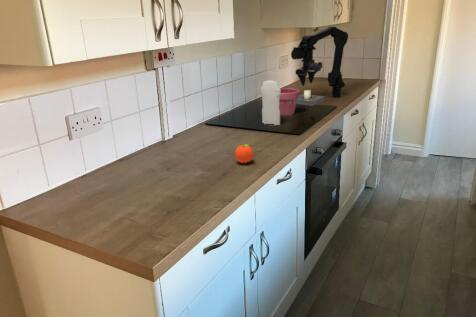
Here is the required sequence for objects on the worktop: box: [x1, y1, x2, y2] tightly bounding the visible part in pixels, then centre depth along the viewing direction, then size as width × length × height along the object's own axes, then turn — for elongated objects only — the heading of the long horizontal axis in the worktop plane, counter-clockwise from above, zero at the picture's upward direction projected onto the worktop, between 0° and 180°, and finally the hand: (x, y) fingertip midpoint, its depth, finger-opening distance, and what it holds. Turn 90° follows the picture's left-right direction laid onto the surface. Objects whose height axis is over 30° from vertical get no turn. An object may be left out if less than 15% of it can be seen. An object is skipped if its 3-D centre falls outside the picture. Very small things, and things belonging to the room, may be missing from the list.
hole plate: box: [296, 93, 326, 107], centre depth 245 cm, size 16×16×3 cm
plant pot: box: [279, 88, 300, 116], centre depth 218 cm, size 14×14×13 cm
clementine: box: [234, 144, 254, 164], centre depth 152 cm, size 8×7×7 cm
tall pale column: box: [260, 79, 282, 126], centre depth 198 cm, size 11×4×22 cm, turn 61°
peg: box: [303, 89, 312, 99], centre depth 244 cm, size 4×4×7 cm
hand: (307, 84), depth 241 cm, fingers open, 9 cm apart
